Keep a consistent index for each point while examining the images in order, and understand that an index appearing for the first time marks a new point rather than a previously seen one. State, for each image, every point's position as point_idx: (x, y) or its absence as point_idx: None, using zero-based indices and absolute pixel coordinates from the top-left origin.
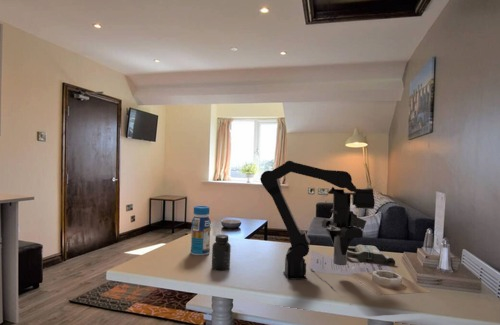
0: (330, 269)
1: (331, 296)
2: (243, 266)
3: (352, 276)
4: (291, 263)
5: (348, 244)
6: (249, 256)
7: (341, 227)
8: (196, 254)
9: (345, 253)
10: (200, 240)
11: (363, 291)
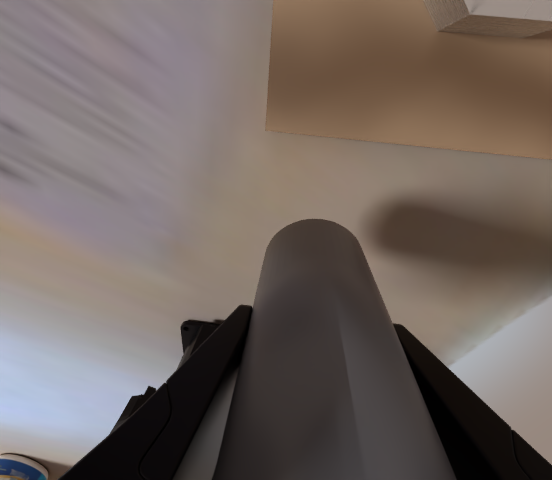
0: (132, 161)
1: (438, 329)
2: None
3: (316, 133)
4: None
5: (536, 467)
6: (13, 389)
7: None
8: (47, 478)
9: (410, 338)
10: None
11: (475, 176)
